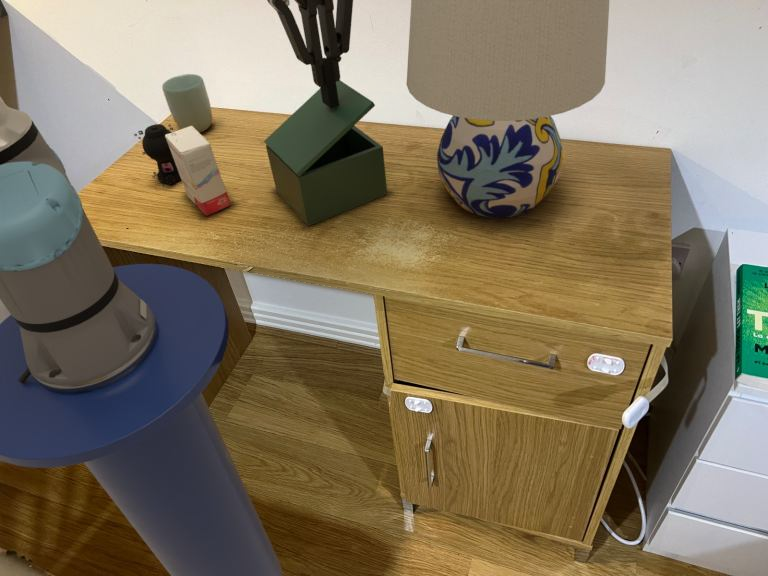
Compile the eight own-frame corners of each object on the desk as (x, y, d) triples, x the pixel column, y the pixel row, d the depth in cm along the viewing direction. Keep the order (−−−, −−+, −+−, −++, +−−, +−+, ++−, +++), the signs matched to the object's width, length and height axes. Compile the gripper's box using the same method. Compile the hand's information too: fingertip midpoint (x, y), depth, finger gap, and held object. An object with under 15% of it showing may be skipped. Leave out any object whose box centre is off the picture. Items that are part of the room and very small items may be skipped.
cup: (223, 123, 123) (210, 75, 116) (200, 140, 118) (185, 92, 111) (193, 118, 125) (179, 72, 119) (170, 135, 120) (153, 88, 114)
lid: (335, 79, 95) (333, 75, 95) (375, 105, 87) (372, 101, 86) (266, 144, 95) (263, 141, 95) (299, 177, 87) (296, 173, 86)
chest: (350, 163, 106) (344, 118, 100) (387, 194, 98) (382, 146, 92) (276, 191, 101) (265, 145, 95) (308, 226, 93) (298, 178, 87)
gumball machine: (151, 189, 105) (131, 138, 98) (153, 173, 109) (134, 123, 103) (189, 182, 106) (172, 131, 99) (190, 166, 110) (173, 116, 103)
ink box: (232, 206, 99) (213, 142, 91) (203, 218, 97) (181, 154, 89) (212, 185, 104) (192, 123, 96) (185, 196, 102) (163, 133, 95)
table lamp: (440, 143, 109) (436, -117, 82) (593, 160, 100) (644, -123, 74) (388, 228, 91) (361, -70, 64) (570, 258, 82) (627, -72, 55)
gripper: (335, -87, 79) (355, 83, 95) (244, -68, 75) (282, 108, 90) (363, -80, 74) (379, 99, 90) (267, -59, 70) (303, 125, 85)
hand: (330, 103), depth 90 cm, fingers closed
